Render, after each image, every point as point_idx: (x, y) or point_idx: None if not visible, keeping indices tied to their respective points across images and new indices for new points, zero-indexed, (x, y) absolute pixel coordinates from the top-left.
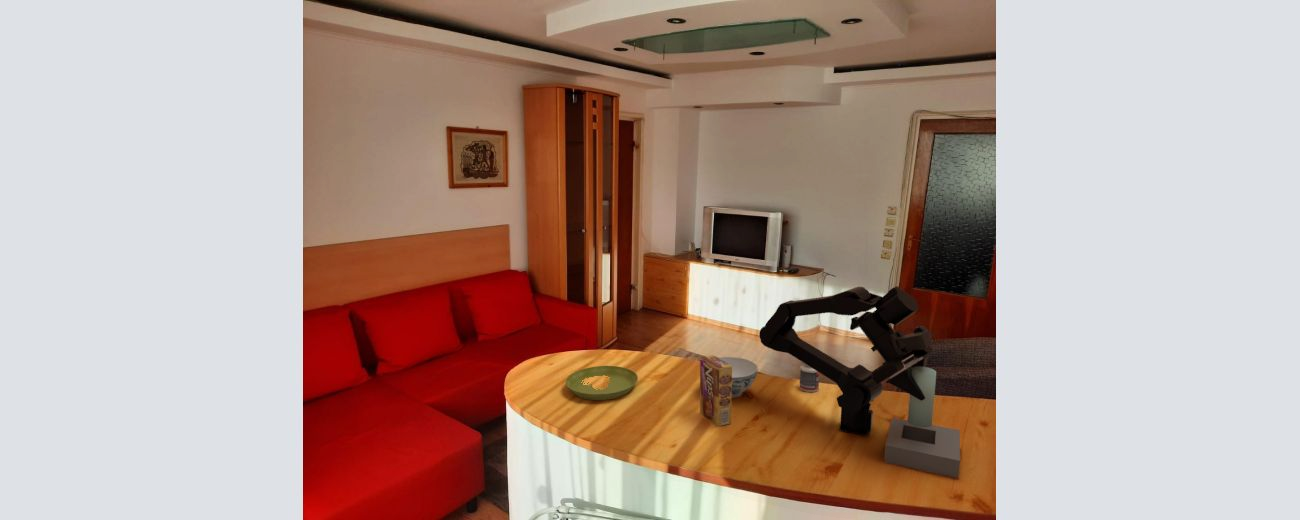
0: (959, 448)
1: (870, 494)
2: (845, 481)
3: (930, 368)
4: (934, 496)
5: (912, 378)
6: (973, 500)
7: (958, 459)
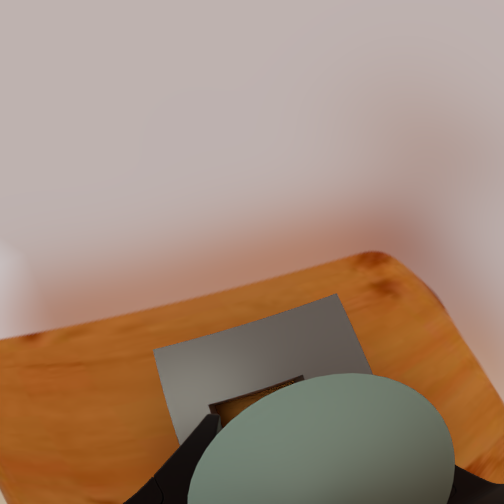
0: (272, 316)
1: (483, 387)
2: (481, 437)
3: (196, 484)
4: (416, 316)
5: (452, 488)
6: (372, 265)
7: (333, 298)
